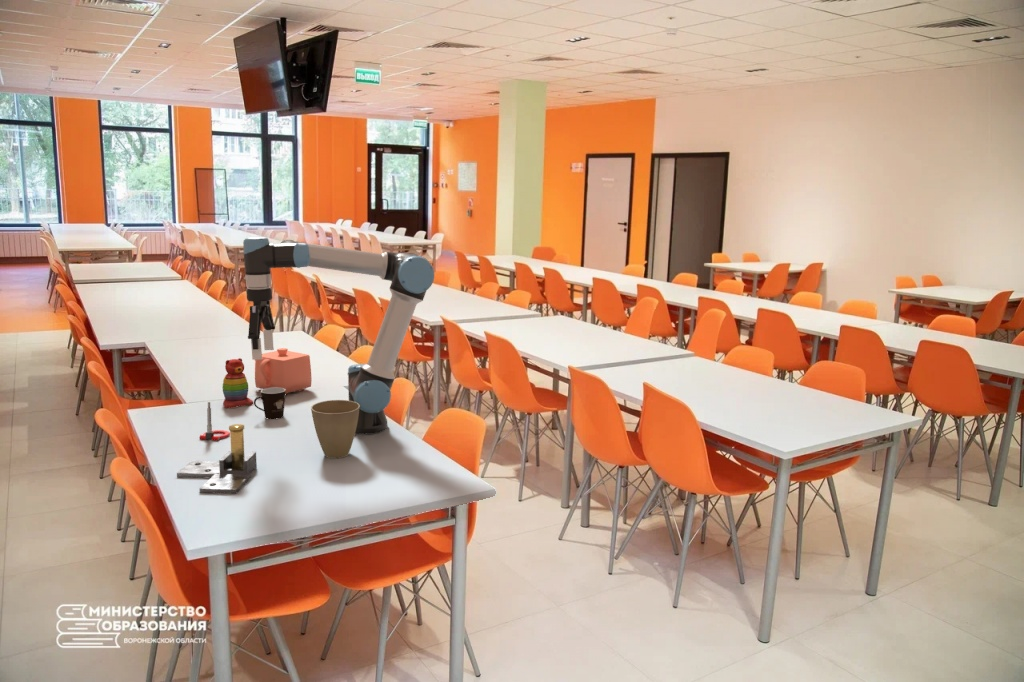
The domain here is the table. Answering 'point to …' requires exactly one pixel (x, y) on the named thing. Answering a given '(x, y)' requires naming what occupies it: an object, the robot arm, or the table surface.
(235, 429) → the brass hinge pin
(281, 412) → the coffee mug
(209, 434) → the tow hook
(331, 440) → the plant pot
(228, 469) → the hinge leaves
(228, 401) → the stacking bear
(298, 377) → the teapot
